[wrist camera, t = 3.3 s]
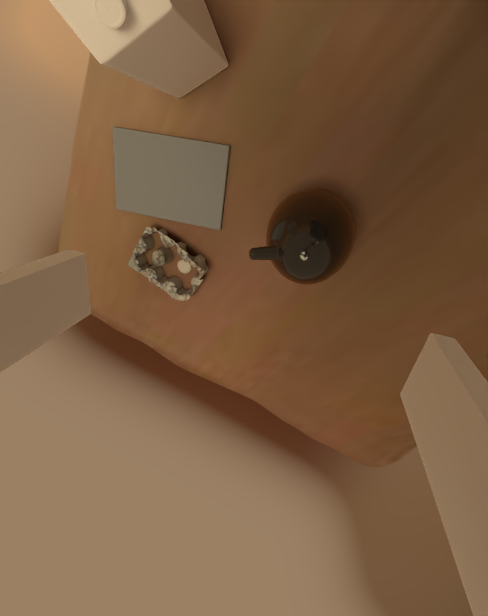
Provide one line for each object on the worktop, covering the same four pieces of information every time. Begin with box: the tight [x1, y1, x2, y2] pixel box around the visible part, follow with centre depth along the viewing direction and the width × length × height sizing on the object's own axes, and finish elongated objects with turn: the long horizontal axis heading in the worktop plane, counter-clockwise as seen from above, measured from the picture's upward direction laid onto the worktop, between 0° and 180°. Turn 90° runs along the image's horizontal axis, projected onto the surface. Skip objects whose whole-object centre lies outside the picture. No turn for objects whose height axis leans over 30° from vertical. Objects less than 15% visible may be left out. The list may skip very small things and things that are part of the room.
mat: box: [112, 127, 230, 230], centre depth 41 cm, size 16×10×1 cm, turn 81°
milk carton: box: [49, 0, 229, 98], centre depth 27 cm, size 7×7×19 cm
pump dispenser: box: [249, 189, 355, 284], centre depth 33 cm, size 10×10×15 cm
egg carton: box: [128, 226, 209, 300], centre depth 45 cm, size 11×8×4 cm
